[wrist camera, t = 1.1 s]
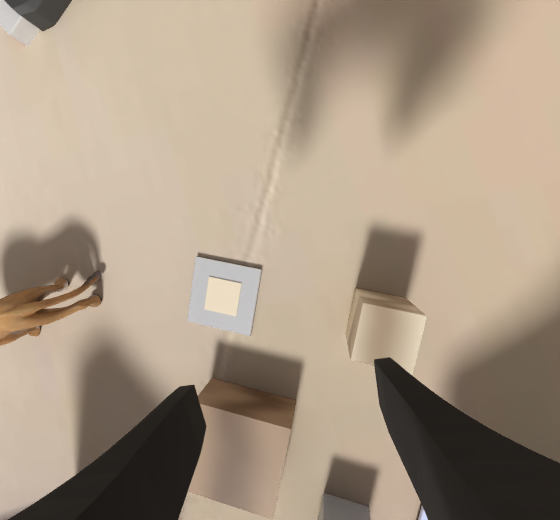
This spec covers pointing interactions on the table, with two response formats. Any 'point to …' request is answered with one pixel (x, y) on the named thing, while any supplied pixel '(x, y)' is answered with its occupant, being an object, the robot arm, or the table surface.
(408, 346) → the birch block
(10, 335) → the lion figurine
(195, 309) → the card
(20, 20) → the usb drive
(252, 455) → the walnut block
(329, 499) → the grey cube
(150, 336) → the table surface
